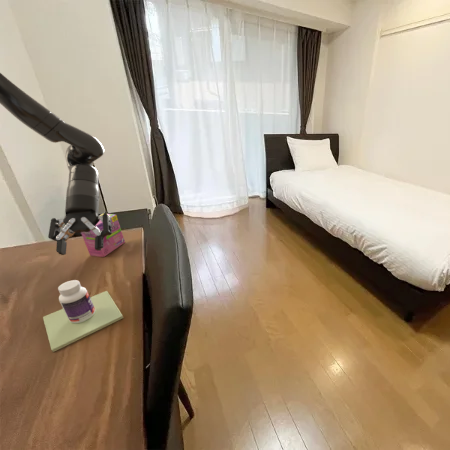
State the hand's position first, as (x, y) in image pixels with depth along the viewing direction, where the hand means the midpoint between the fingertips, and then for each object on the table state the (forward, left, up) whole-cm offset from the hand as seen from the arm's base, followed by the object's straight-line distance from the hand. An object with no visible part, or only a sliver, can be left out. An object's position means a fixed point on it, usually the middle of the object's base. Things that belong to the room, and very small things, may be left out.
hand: (80, 252), depth 75 cm
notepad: (-5, -13, -12) cm, 18 cm away
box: (+9, +21, -12) cm, 25 cm away
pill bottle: (-5, -13, -11) cm, 18 cm away
